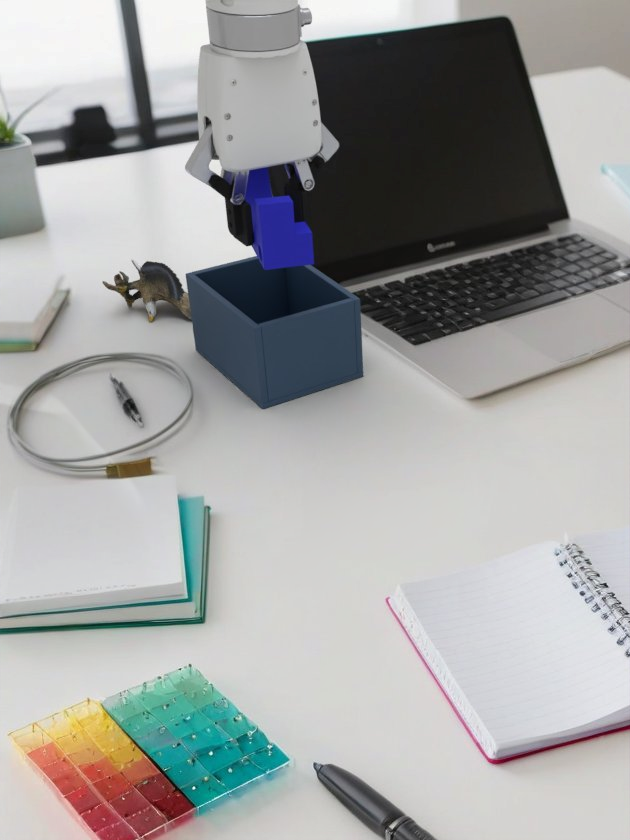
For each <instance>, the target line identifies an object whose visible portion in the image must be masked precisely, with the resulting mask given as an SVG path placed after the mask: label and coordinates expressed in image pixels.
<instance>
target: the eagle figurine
mask: <svg viewBox="0 0 630 840" xmlns="http://www.w3.org/2000/svg"><path fill="white" fill-rule="evenodd" d="M130 260H131V261H130V262H131V263H132V265H133V266H134V267H135V268H136V270H137V272H138V276H139V279H137V280H133V281H129V280H130V277H129V276H128V275H127V274H125V273H124V272H123V271H121V270H119V272H118V273H117V274H115V275H114V277H113V281H114V285H113V284H111V283H108V282H107V281H106V280H102V285H103V286H105V288H106V289H108V290H110V291H113V292H117V294H119V295H120V296H121V297H122V298H123V299H124V300H125V302H126V304H127V307H128V308H132V307H133V305H134V303H135V302H136V301H137V300H140V299H142V302H143V304H144V306H145V308H146V311H147V314H148V322H149V323H151V322H153V321H154V318H155V316H156V315H157V307H156V306H157V305H156V303H157V302H158V301H165V302H167V303H169V304H171V305H172V306H174V307H175V308H177V309H178V310H179V311H180V312H181V313H182V314H183V315H184V316H185V317H186V318H188V319H189V320H192V318H191V311H190V304H189V296H188V291H185V290H184V288H182V287H183V284H182V283H181V281H180V278H179V277H178V275H177V273H175V272H174V270H173V269H171V267H169V266H168V265H166V263H163V262H157V261H149V260H146V261H145V262H144V263H143V264H142V265H140V264H139V263H138V262H137V260H134V259H130ZM133 290H136V292H135V293H133V294H131V293H130V291H133Z"/></svg>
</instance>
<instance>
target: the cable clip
mask: <svg viewBox="0 0 630 840" xmlns="http://www.w3.org/2000/svg"><path fill="white" fill-rule="evenodd" d="M271 187H272V186H271V180H270V175H269V167H265V168H260V169H254V170H249V175H248V181H247V187H246V193H245V201H246V202H248V203H249V204H250V205H251V211H252V222H253V233H254V243H253V245H251V246H250V247H252V250H253V251H254V254H255V256H257V257H258V259H259V261H260V263H261V265H262V266H263V268H264V270H269V269H278V268H286V267H295V266H303V265H311V266H312V265H315V256H314V242H313V240H314V239H313V232H312V230H311V229H310V226H309V227H308V226H307V224H306V222H297V223H295V222H294V208H293V201H292V199H291V198H290V196H285V195H281V196H273V192H272V188H271Z"/></svg>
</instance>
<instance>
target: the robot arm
mask: <svg viewBox="0 0 630 840" xmlns="http://www.w3.org/2000/svg"><path fill="white" fill-rule="evenodd" d="M205 10H206V19H207V20H206V21H207V29H208V30H207V31H208V39H209V43H207V44H203V45H201V46H200V49H199V57H198V66H197V67H198V68H197V88H196V89H197V90H196V91H197V95H196V97H197V100H196V104H197V128H198V129H197V130H198V142H197V143H196V146H195V147H194V150H193V151H192V152H191V154H190V156H189V158H188V160H187V161H186V163H185V165H184V170H185V172H186V173H188V174H189V175H190V176H192V177H193V178H195V179H197V180H198V181H200V182H202V183H203V184H205V185H206V186H208V187H210V188H211V189H212V190H214V191H215V192H216V193H218V194H219V195H221V196H222V197H223V198H224V202H225V203H224V205H225V213H226V223H227V230H228V232H229V234H230V235H231V236H233V238H234V239H235V240H237V241H239V242H240V243H241V244H242V245H244V246H245V247H252V246H251V245H253V243H254V233H253V222H252V211H251V205H250V204H249V203H248V202H246V201H245V193H246V187H247V181H248V175H249V170H254V169H260V168H265V167H268V168H270V167H274V166H281V165H284V168H285V170H286V173H287V177H288V181H287V182H284V185H283V186H284V187H283V192H284V193H283V194H284V196H290V198H291V199H292V201H293V208H294V222H295V223H297V222H306V224H307V226H308V227H309V228H310V221H309V220H311V218H312V214H311V211H312V210H311V195H310V191H312V190H313V189H314V188H315V185H316V183H315V181H316V179H317V177H318V176H319V174H320V173H321V172H322V170H323V169H324V167H325V166H326V162H328V161H329V160H330V159H331V158H332V157H333V155H334V154H336V152H337V151H338V150H339V148H340V142H339V141H338V140H337V139H336V138H335V136H334V135H333V134H332V133H331V131H330V130H329V129H328V128H327V127H326V126H325V125H324V123H323V122H322V120H321V110H320V102H319V95H318V88H317V83H316V82H317V81H316V77H315V72H314V67H313V62H312V59H311V56H310V51H309V49H308V46H307V43H306V42H305V41H304V40H302V39H301V38H302V37H303V35H302V34H303V33H302V27H303V28H304V27H305V26H309V25H311V24H312V22H313V14H312V11H311V9H310V8H308V7H301V5H300V4H299V0H205ZM212 160H214V161H219V165H220V167H221V171H220V175H219V174H218V173H216V172H214V171H213V170H211V169H210V164H211V162H212Z"/></svg>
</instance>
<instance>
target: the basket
mask: <svg viewBox="0 0 630 840" xmlns="http://www.w3.org/2000/svg"><path fill="white" fill-rule="evenodd" d="M185 279H186V281H185V282H186V289H187V293H188V296H189V304H190V311H191V318H192V319H191V324H192V333H193V339H194V340H193V341H194V345H195V352H197V353H198V354H199V355H201V357H203V358H204V359H205V360H206V361H207V362H208V363H209V364H210V365H212V366H213V367H214V368H215V369H216V370H217V371H219V373H220V374H222V375H223V376H225V378H227V379H228V381H230V382H231V383H233V384H234V385H235V386H236V387H237V388H238V389H239V390H240V391H241V392H242V393H244V394H245V395H246V396H247V397H248V398H249V399H251V400H252V402H254V403H255V404H256V405H257V406H258V407H259V408H261V409H262V410H264V409H267V408H270V407H274V406H276V405H280V404H283V403H286V402H289V401H292V400H296V399H298V398H302V397H305V396H308V395H311V394H313V393H317V392H320V391H323V390H326V389H329V388H332V387H335V386H338V385H341V384H344V383H348V382H350V381H353V380H357V379H359V378H363V377H364V360H363V357H364V356H363V336H362V333H363V332H362V311H361V310H362V309H361V299H360V298H359V297H358V296H357V295H355V293H353V292H351V291H350V290H348V289H347V288H345V287H343V286H342V285H341V284H339V283H338V282H336V281H335V280H333V279H332V278H330V277H329V276H327V275H326V274H324V273H323V272H321V271H320V270H319V269H318V268H316V267H314V266H313V265H312V264H311V265H303V266H295V267H286V268H278V269H269V270H264V268H263V266H262V265H261V263H260V261H259V259H258V257H257V255H255V256H250V257H246V258H242V259H239V260H234V261H231V262H227V263H223V264H219V265H215V266H210V267H206V268H202V269H198V270H194V271H192V272H191V271H190V272H187V273H185Z"/></svg>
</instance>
